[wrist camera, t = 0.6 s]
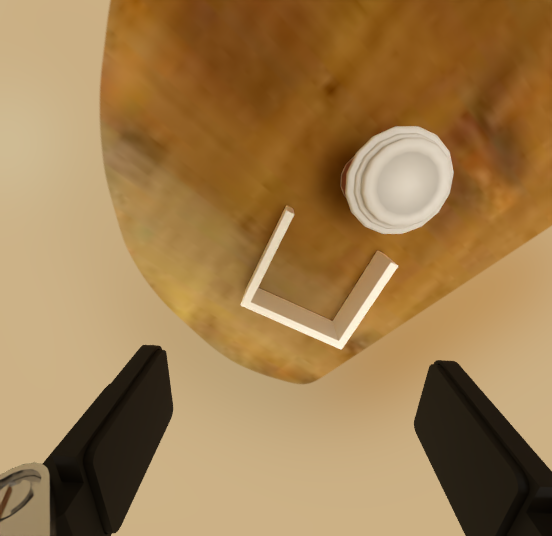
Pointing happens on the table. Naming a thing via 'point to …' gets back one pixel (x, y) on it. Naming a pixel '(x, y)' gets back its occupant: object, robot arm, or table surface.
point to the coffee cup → (398, 179)
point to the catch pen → (310, 321)
